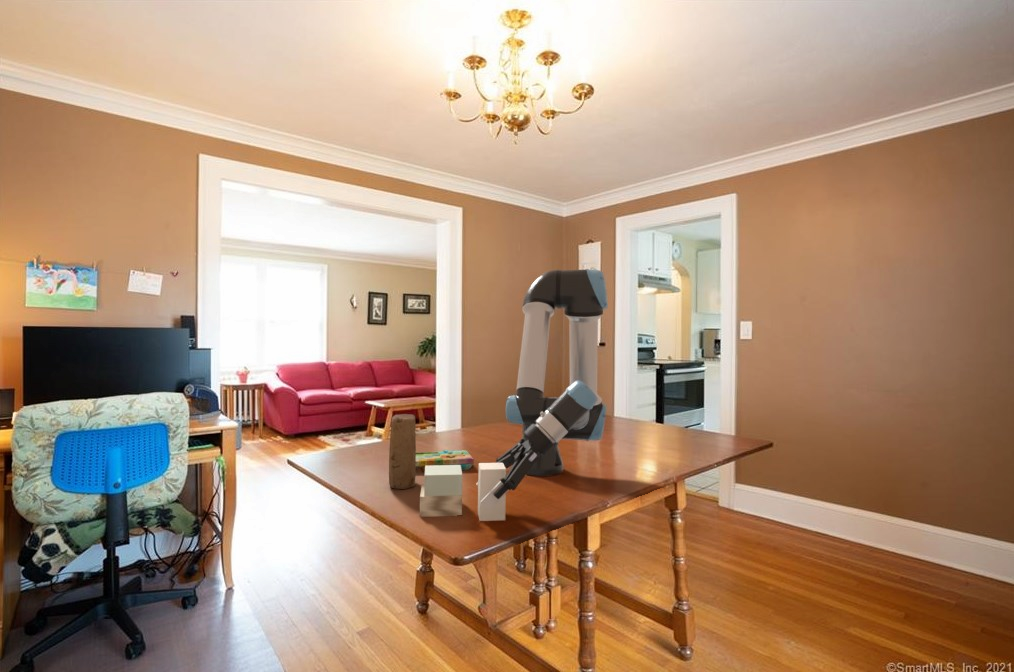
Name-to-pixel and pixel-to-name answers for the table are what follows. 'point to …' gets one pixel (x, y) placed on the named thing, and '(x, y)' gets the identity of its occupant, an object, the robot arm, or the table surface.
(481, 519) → the cream block
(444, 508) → the tower base
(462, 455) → the puzzle game
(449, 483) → the tower top
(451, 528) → the table surface
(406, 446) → the block
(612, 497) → the table surface
